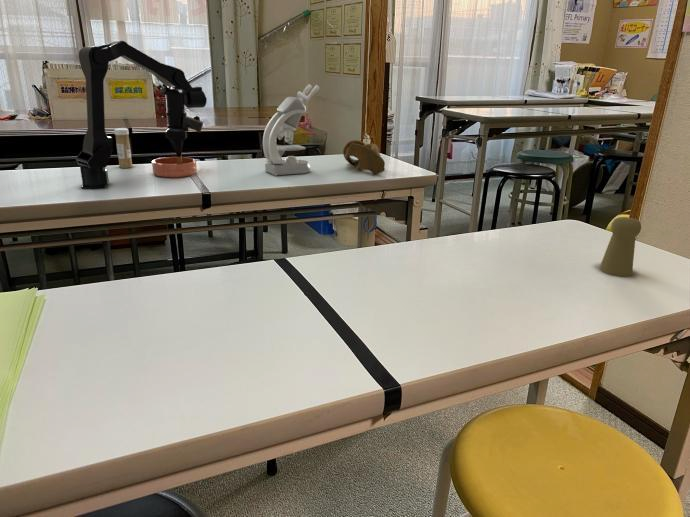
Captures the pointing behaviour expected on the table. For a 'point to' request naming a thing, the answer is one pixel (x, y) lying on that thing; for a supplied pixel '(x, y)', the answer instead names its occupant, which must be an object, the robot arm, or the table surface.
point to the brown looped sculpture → (364, 156)
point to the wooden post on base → (179, 159)
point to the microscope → (286, 135)
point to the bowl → (174, 167)
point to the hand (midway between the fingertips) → (179, 156)
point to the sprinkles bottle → (123, 147)
